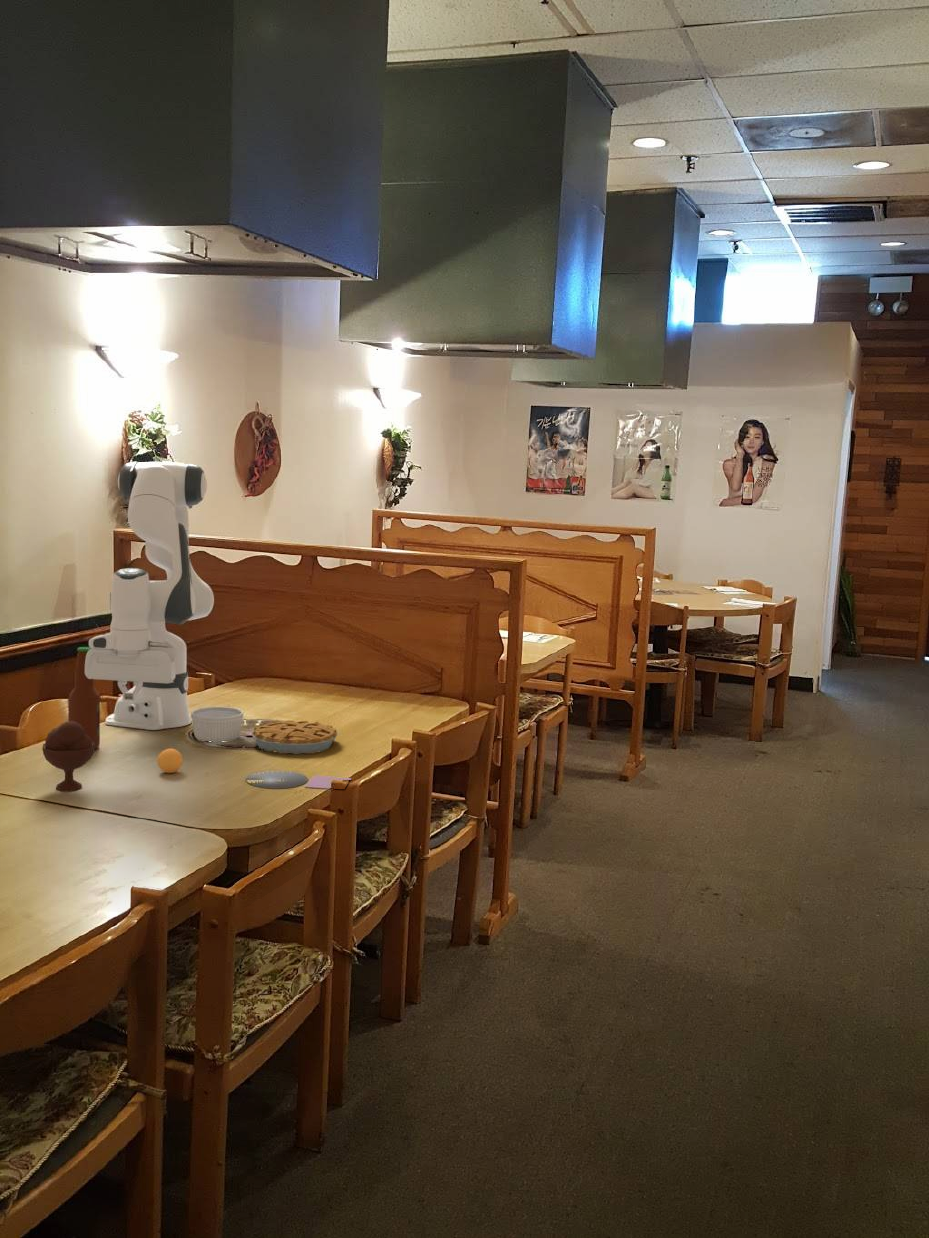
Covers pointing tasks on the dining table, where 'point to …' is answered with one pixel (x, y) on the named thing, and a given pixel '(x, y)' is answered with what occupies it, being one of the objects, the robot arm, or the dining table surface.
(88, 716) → the bottle
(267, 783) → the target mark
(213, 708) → the ramekin
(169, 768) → the ball
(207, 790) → the dining table surface
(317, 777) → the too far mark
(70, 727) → the ice cream bowl
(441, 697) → the dining table surface
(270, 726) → the pie
